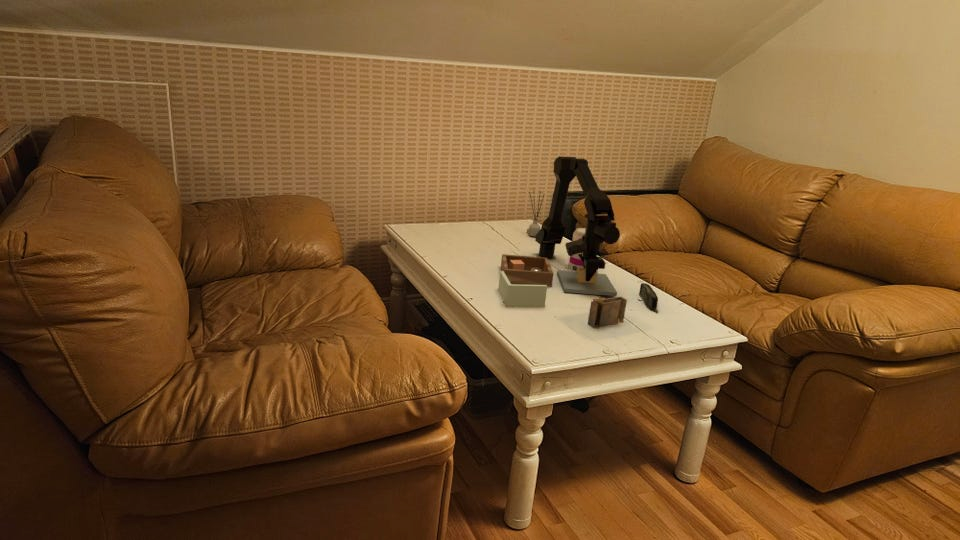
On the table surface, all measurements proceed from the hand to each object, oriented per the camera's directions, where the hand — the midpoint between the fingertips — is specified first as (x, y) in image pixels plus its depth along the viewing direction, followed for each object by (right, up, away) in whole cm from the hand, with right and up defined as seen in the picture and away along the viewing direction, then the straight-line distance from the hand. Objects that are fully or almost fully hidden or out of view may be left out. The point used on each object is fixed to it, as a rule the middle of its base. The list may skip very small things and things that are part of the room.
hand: (586, 279), depth 201 cm
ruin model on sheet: (+1, -13, -25) cm, 28 cm away
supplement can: (0, +3, +17) cm, 17 cm away
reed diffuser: (-14, +17, +53) cm, 58 cm away
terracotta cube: (-23, +2, +6) cm, 24 cm away
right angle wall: (-23, -7, -13) cm, 27 cm away
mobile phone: (+18, -8, -7) cm, 21 cm away
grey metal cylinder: (-17, 0, +1) cm, 17 cm away
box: (-20, 0, +4) cm, 21 cm away
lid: (0, -2, +1) cm, 2 cm away
